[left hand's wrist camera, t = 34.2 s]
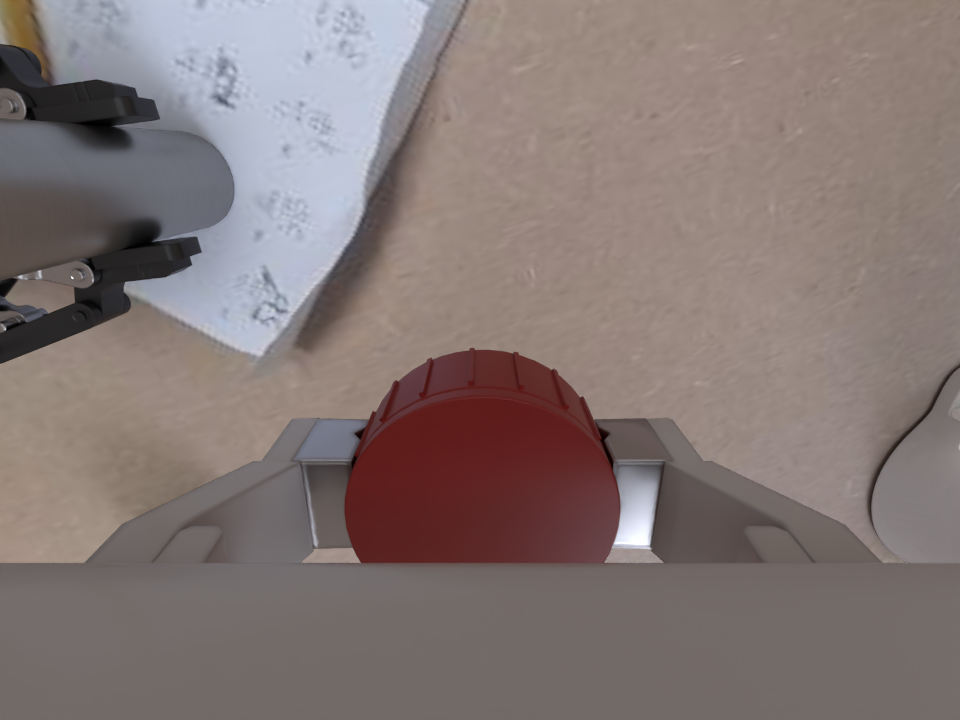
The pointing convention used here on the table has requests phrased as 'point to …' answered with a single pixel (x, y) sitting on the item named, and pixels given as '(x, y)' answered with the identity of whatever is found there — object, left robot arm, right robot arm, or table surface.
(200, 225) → the bottle
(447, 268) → the table surface
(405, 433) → the cap
